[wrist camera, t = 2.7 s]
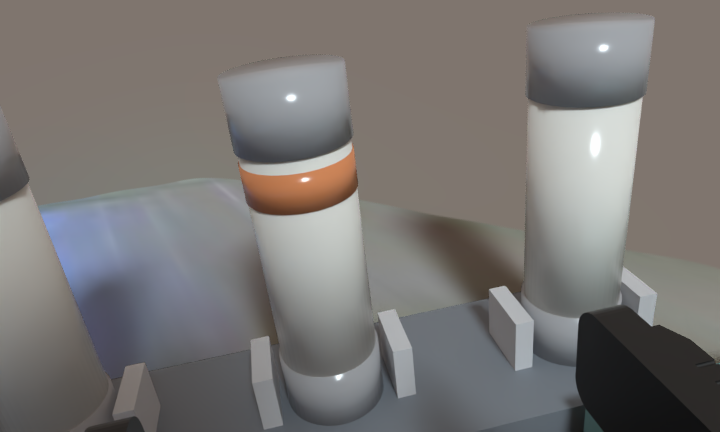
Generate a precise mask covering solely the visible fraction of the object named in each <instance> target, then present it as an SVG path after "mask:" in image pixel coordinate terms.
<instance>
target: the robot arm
mask: <svg viewBox="0 0 720 432" xmlns="http://www.w3.org/2000/svg"><path fill="white" fill-rule="evenodd" d="M575 379H576V386H577V390H578V393H579V396H580V398H581V401H582V403H583V405H584V406H585V408H586V410H587V411H588V412H589V414H590V415H591V416H592V418H593V419H594V420H595V421H596V423H597V424H598V425H599V427H600V428H601V429H602V430H603V432H720V364H716V363H715V361H714V359H713V358H712V357H711V356H709V355H708V354H707V353H706V352H705V351H703V350H702V349H701V348H700V347H699V346H697V345H696V344H695V343H694V342H693V341H691V340H690V339H688V338H686V337H684V336H682V335H680V334H677V333H675V332H673V331H671V330H669V329H667V328H665V327H663V326H661V325H657V326H650V325H649V324H648V323H647V322H646V321H645V320H644V319H642V318H641V317H640V316H639V315H638V314H637V313H636V312H634V311H633V310H632V309H631V308H630V307H628V306H626V305H623V304H621V305H616V306H611V307H607V308H603V309H599V310H594V311H590V312H586V313H583V314H582V315H581V316H580V318H579V323H578V338H577V356H576V373H575ZM84 432H145V431H144V429H143V426H142V424H141V422H140V420H139V419H138V418H137V417H136V416H133V417H128V418H124V419H120V420H115V421H111V422H107V423H102V424H98V425H94V426H90V427H88V428H87V429H86V430H85V431H84Z"/></svg>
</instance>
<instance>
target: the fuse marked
mask: <svg viewBox="0 0 720 432" xmlns="http://www.w3.org/2000/svg"><path fill="white" fill-rule="evenodd" d="M217 78H218V83H219V88H220V92H221V96H222V101H223V106H224V110H225V115H226V119H227V123H228V128H229V132H230V137H231V142H232V146H233V151H234V153H235V155H236V156H238V159H239V161H238V166H239V171H240V175H241V180H242V184H243V189H244V193H245V198H246V202H247V204H248V206H249V209H250V214H251V218H252V223H253V228H254V232H255V237H256V241H257V246H258V250H259V255H260V259H261V264H262V268H263V273H264V278H265V282H266V287H267V291H268V296H269V300H270V305H271V309H272V314H273V318H274V323H275V328H276V332H277V337H278V341H279V346H280V347H279V357H280V362H281V366H282V371H283V375H284V380H285V384H286V389H287V393H288V398H289V402H290V405H291V408H292V409H293V411H294V412H295V413H296V414H297V415H298V416H299V417H300V418H302V419H303V420H305V421H307V422H310V423H312V424H316V425H322V426H336V425H342V424H346V423H350V422H353V421H355V420H357V419H359V418H361V417H363V416H364V415H366V414H367V413H369V412H370V411H371V410H372V409H373V408H374V407H375V406H376V405H377V403H378V402H379V400H380V398H381V396H382V393H383V387H384V385H383V375H382V367H381V359H380V350H379V342H378V336H377V332H376V330H375V329H374V321H373V312H372V304H371V296H370V288H369V280H368V272H367V263H366V255H365V247H364V239H363V231H362V223H361V214H360V206H359V198H358V190H357V187H358V179H357V170H356V162H355V154H354V146H353V144H352V141H351V138H352V137H353V126H352V119H351V109H350V101H349V93H348V84H347V76H346V68H345V60H344V59H343V58H342V57H339V56H333V55H298V56H289V57H280V58H274V59H268V60H262V61H257V62H253V63H249V64H245V65H241V66H238V67H235V68H232V69H229V70H227V71H225V72H223V73H221V74H220V75H219V76H218V77H217Z"/></svg>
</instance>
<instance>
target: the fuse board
mask: <svg viewBox="0 0 720 432" xmlns="http://www.w3.org/2000/svg"><path fill="white" fill-rule="evenodd" d="M620 291H621V294H622V303H621V304H623V305H626V306H628V307H630V308H631V309H632V310H633V311H634V312H636V313H637V314H638V315H639V316H640V317H641V318H642V319H644V320H645V321H646V322H647V323H648V324H649V325H650V326H652V324H653V317H654V311H655V304H656V297H657V293H656V292H655V291H654V290H652V289H651V288H650V287H649V286H647V285H646V284H645V283H644V282H642V281H641V280H640V279H639V278H637V277H636V276H635V275H634V274H632V273H631V272H630V271H629V270H627V269H626V268H625V267H623V271H622V280H621V289H620ZM378 321H379V322H377V323H374V329H375V330H376V332H377V336H378V342H379V350H380V359H381V367H382V375H383V385H384V387H383V393H382V396H381V398H380V400H379V402H378V403H377V405H376V406H375V407H374V408H373V409H372V410H371V411H370V412H369V413H367V414H366V415H364V416H363V417H361V418H359V419H357V420H355V421H353V422H350V423H346V424H342V425H336V426H322V425H316V424H312V423H310V422H307V421H305V420H303V419H302V418H300V417H299V416H298V415H297V414H296V413H295V412H294V411H293V409H292V408H291V405H290V402H289V398H288V393H287V389H286V384H285V380H284V375H283V371H282V366H281V362H280V357H279V347H280V346H279V344H274V345H271V343H270V338H269V336H266V337H261V338H256V339H252V340H251V350H246V351H241V352H237V353H232V354H227V355H223V356H218V357H213V358H209V359H204V360H200V361H195V362H190V363H186V364H181V365H176V366H172V367H167V368H162V369H158V370H153V371H148V369H147V367H146V364H145V362H143V363H139V364H134V365H129V366H125V370H124V374H123V377H120V378H116V379H111V382H112V384H113V387H114V389H115V392H116V394H117V399H116V402H115V406H114V410H113V413H112V416H113V418H114V420H120V419H124V418H128V417H133V416H136V417H137V418H138V419H139V420H140V422H141V424H142V426H143V429H144V431H145V432H583V431H584V420H585V410H586V408H585V406H584V405H583V403H582V401H581V398H580V396H579V393H578V390H577V386H576V379H575V373H576V367H571V366H563V365H558V364H554V363H551V362H548V361H546V360H544V359H542V358H540V357H538V356H536V355H535V354H533V332H534V320H533V319H532V318H531V317H530V315H529V314H528V313H527V312H526V310H525V309H524V308H523V307H522V306H521V292H516V293H511V292H510V291H509V290H508V288H507V287H506V286H501V287H496V288H492V289H489V298H488V299H484V300H479V301H474V302H470V303H465V304H460V305H456V306H451V307H446V308H442V309H437V310H432V311H428V312H423V313H418V314H414V315H409V316H405V317H400V318H398V315H397V313H396V311H395V309H393V310H388V311H383V312H379V313H378Z"/></svg>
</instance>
